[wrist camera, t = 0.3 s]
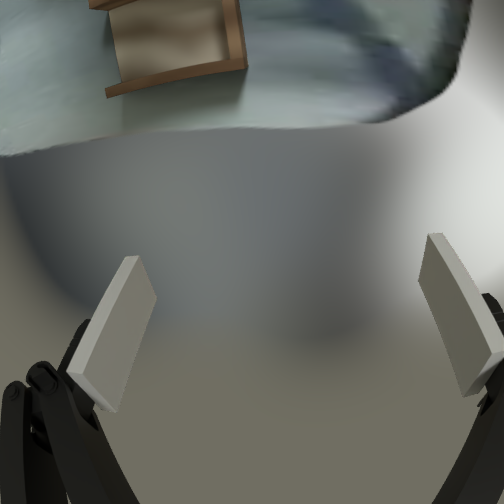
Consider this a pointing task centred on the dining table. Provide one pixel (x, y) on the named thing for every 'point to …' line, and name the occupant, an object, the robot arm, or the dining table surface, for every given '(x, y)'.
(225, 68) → the end holder
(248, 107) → the dining table surface
